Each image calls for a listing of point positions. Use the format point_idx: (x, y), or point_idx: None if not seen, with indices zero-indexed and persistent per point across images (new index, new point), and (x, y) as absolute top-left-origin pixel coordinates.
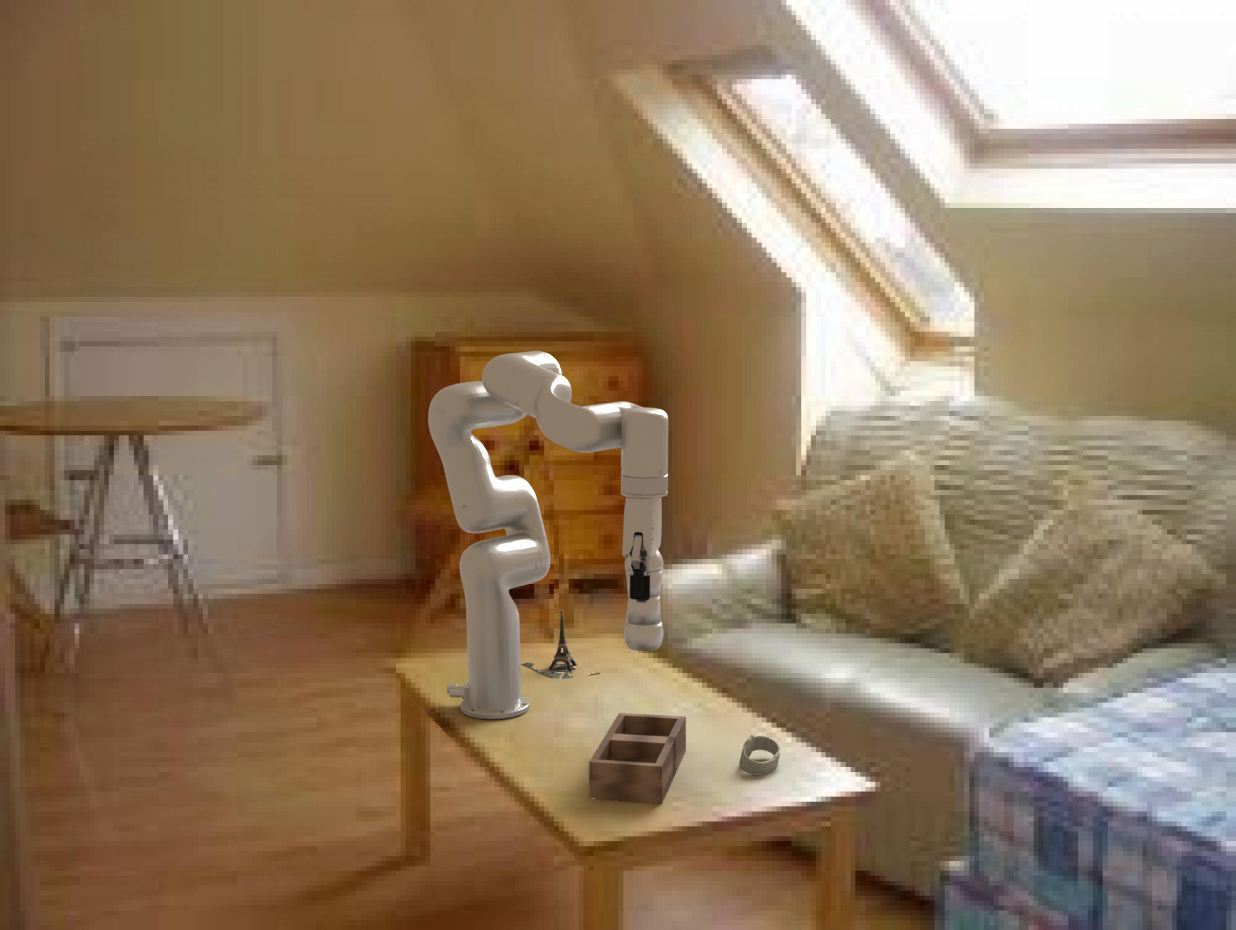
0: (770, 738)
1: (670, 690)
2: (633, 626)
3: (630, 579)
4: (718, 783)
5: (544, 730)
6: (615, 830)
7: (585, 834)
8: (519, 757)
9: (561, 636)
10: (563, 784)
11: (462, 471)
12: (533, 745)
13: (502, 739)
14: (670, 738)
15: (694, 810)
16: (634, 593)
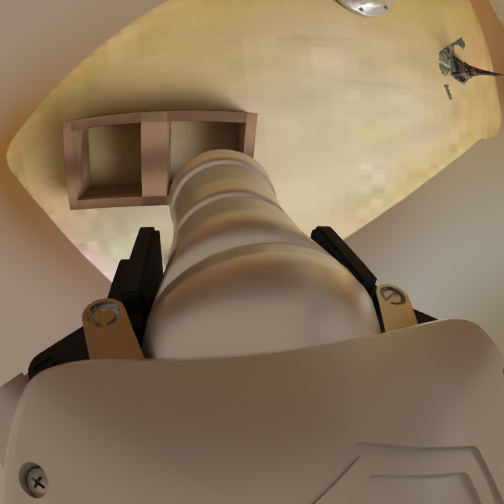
0: None
1: (413, 162)
2: (176, 192)
3: (125, 277)
4: None
5: (297, 25)
6: (25, 170)
7: (13, 147)
8: (200, 8)
9: (481, 71)
10: (116, 76)
11: None
12: (243, 16)
13: None
14: (160, 199)
15: (81, 227)
16: (120, 261)
